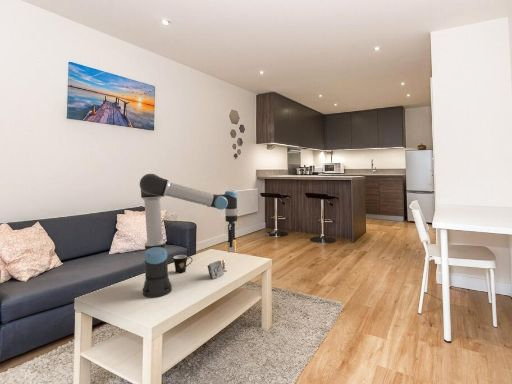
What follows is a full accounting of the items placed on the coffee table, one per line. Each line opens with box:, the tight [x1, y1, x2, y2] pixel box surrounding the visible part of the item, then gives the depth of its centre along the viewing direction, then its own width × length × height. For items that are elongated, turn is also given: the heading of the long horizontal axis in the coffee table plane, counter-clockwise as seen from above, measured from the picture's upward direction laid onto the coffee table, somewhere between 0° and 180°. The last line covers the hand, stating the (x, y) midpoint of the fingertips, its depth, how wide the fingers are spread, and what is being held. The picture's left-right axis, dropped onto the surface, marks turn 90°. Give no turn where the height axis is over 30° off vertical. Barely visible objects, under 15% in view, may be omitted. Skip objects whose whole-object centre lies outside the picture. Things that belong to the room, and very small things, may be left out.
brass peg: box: [221, 259, 226, 269], centre depth 187 cm, size 2×2×6 cm
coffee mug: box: [173, 254, 193, 274], centre depth 187 cm, size 12×9×10 cm
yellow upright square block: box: [227, 239, 237, 253], centre depth 183 cm, size 4×4×7 cm
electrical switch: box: [207, 260, 225, 280], centre depth 178 cm, size 9×5×9 cm, turn 141°
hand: (231, 250), depth 183 cm, fingers closed on yellow upright square block, 4 cm apart
